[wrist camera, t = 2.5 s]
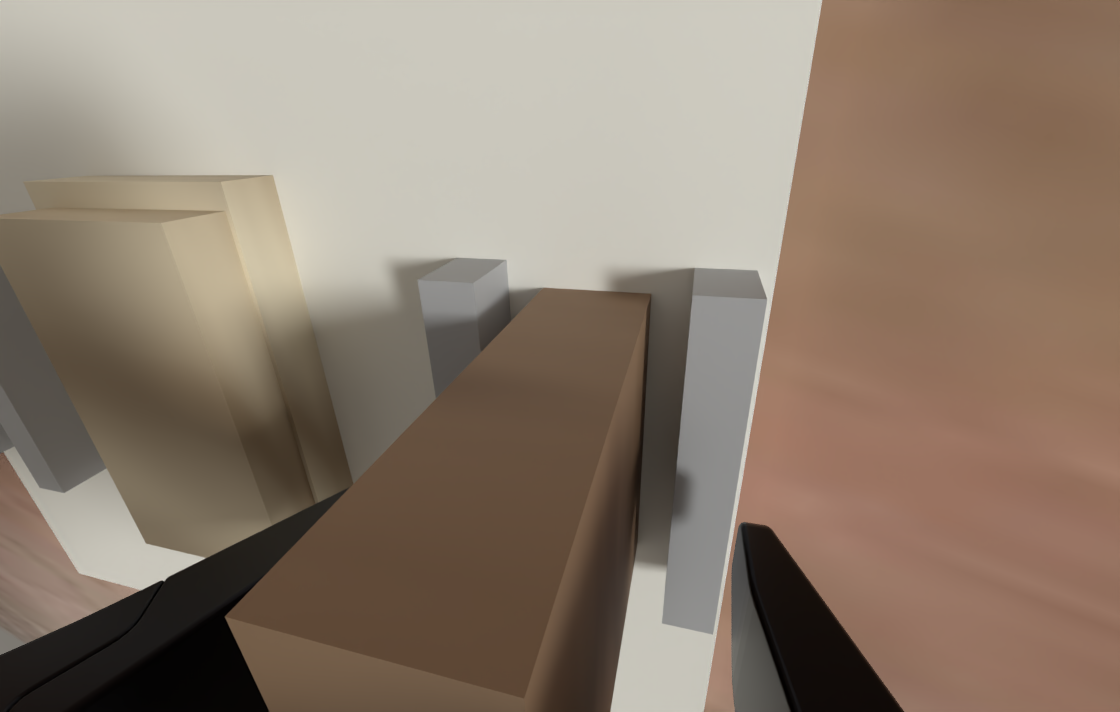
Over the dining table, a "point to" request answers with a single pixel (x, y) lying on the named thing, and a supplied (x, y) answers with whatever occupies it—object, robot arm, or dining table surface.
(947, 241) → the dining table surface
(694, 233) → the rack
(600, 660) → the walnut panel
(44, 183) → the offcut stack
